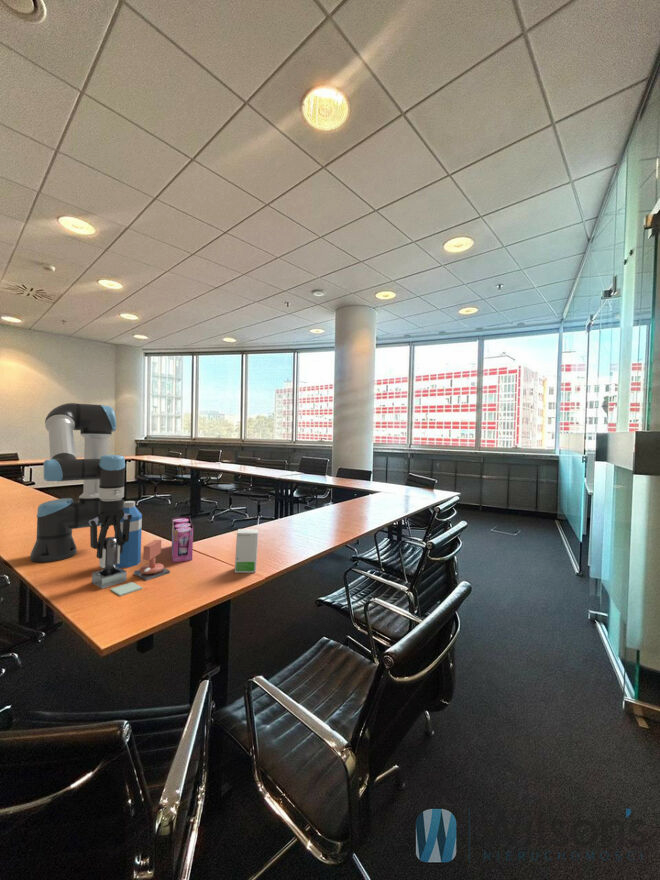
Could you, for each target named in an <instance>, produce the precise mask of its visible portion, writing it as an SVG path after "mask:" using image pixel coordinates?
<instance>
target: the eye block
mask: <svg viewBox="0 0 660 880" xmlns="http://www.w3.org/2000/svg"><path fill="white" fill-rule="evenodd" d="M127 572H128V571H126V570H124V569H123V568H119V567H117V566H116V573H115V574H112V575H108V576H105V577H104V576H103V569H102V570H97V571H93V572H91V583H92V584H93V585H95V586H97V587H98V588H99V589H101V590H104V589H106V588H109V587H113V586H116V585H119V584H120V585H121V584H122V583H126V582H127V579H128V578H127V577H128V576H127V574H128V573H127Z"/></svg>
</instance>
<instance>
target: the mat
mask: <svg viewBox="0 0 660 880" xmlns="http://www.w3.org/2000/svg"><path fill="white" fill-rule="evenodd" d="M139 590H140V591H141V590H143V586H141V585H139V584H137V583H135V582H133V581H131V582H127V583H124V584H120V585H117V586H114V587H111V588H110V591H111V592H113V593H114V594H116V595H118V596H119V597H122V596H125V595H129V594H132V593H133V592H137V591H139Z"/></svg>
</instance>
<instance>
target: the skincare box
mask: <svg viewBox="0 0 660 880" xmlns="http://www.w3.org/2000/svg"><path fill="white" fill-rule="evenodd" d="M258 539H259V529H256V528H255V529H252V528H238V529H237V533H236V544H235V559H234V573H235V574H239V573H241V574H243V573H247V574H248V573H249V574H250V573H251V574H252V573H253V574H254V573H256V572H257V561H258V559H257V558H258V545H259V540H258Z"/></svg>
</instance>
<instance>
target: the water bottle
mask: <svg viewBox="0 0 660 880" xmlns="http://www.w3.org/2000/svg"><path fill="white" fill-rule="evenodd" d="M123 511H124V513H125V514H130V515H132V518H131V520H130V528H129V541H128V542H125V543H124V545H123V550H122V553H120V564H116V566H117V567H119V568H121V569H123V568H124V569H125V568H131V567H134V566H138V565H139V564H140V563H141V561H142V560H141V558H142V557H141V555H142V527H143V525H142V522H143V514H142V513H141V512H140V510H139V509H138V508H137V507H136V501H134V500H126V501H125V500H124V508H123ZM123 520H124V519H123V518H122V519H121V520H120V525H121V526H120V528H121V533H123ZM114 537H116V536H115V535H114Z"/></svg>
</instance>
